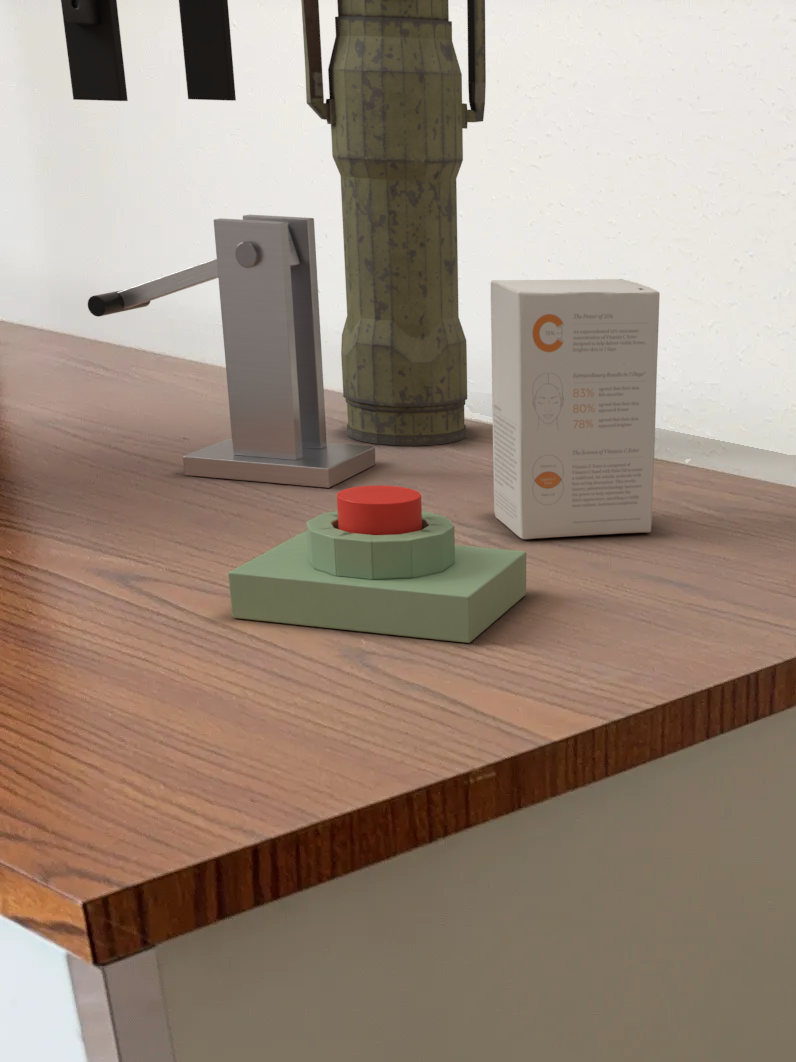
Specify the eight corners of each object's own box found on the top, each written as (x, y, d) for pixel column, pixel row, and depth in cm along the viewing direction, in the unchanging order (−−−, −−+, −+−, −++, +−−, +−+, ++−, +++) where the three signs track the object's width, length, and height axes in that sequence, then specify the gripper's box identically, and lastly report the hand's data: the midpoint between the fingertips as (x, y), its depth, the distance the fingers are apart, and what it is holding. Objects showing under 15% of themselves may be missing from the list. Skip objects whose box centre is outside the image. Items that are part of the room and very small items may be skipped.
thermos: (312, 426, 122) (277, -157, 104) (464, 420, 126) (456, -142, 108) (341, 449, 115) (309, -172, 97) (502, 442, 119) (499, -156, 101)
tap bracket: (184, 475, 106) (158, 218, 98) (238, 452, 113) (218, 210, 105) (329, 488, 104) (314, 227, 96) (376, 464, 111) (365, 218, 103)
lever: (96, 328, 104) (80, 288, 103) (142, 318, 109) (128, 279, 108) (272, 269, 99) (258, 226, 98) (312, 261, 104) (299, 220, 103)
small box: (618, 510, 101) (625, 277, 94) (653, 534, 96) (663, 290, 89) (490, 516, 99) (488, 277, 92) (519, 541, 93) (519, 290, 87)
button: (325, 537, 78) (323, 499, 77) (357, 519, 82) (355, 482, 81) (404, 544, 77) (403, 506, 76) (434, 526, 81) (432, 489, 80)
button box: (231, 618, 79) (223, 532, 77) (307, 572, 86) (302, 494, 84) (469, 643, 76) (468, 556, 74) (526, 594, 84) (526, 514, 82)
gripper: (48, -474, 70) (114, 102, 81) (279, -342, 91) (307, 101, 102) (-110, -468, 71) (-24, 98, 82) (154, -339, 92) (195, 98, 103)
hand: (159, 101), depth 92 cm, fingers open, 13 cm apart
